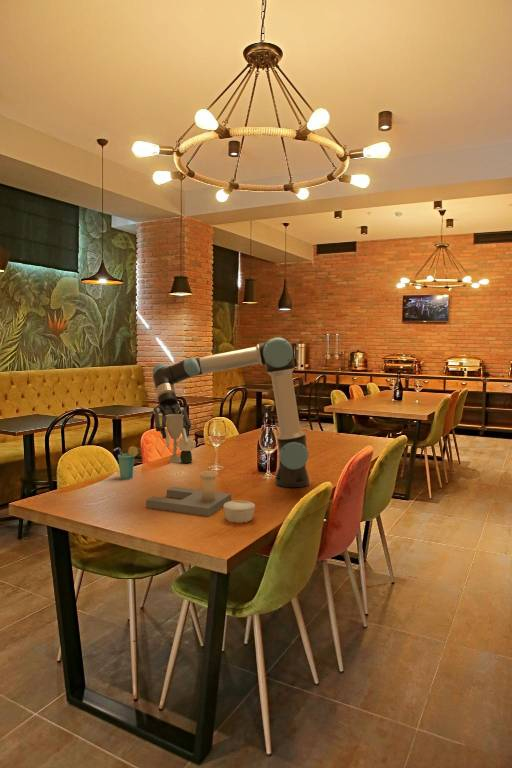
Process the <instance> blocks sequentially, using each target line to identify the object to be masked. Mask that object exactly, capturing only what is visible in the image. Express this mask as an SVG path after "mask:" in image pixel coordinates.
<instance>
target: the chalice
mask: <svg viewBox="0 0 512 768" xmlns="http://www.w3.org/2000/svg"><path fill="white" fill-rule="evenodd" d="M165 416H166V418H167V420H166V429H167V431H168V435H169V438H170V439H172V440H173V443H172V445H173V448H172V451H173V454H171V455H170V456H169V459H168V461H167V462H168V463H171V464H177V463H178V464H179V463H182V462H181V460H180V456H179V455H178V454H177V450H178V448H177V446H176V445H177V443H176V441H177V440H179V437H181V435H182V429H183V421H184V418H183V417H184V415H182V413H179V414H169V415H165Z"/></svg>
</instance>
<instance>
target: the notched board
mask: <svg viewBox="0 0 512 768" xmlns="http://www.w3.org/2000/svg"><path fill="white" fill-rule="evenodd" d="M198 476H199V478H201V489H196V488H195V489H194V488H186V487H179V486H171V487H169V488H168V489H166V497H161V496H151V497H149V498H147V499H145V501H146V502H145V503H146V504H145V508H146V507H147V509H152V508H155V509H154V510H159V509H161V511H166V510H169V511H168V512H173V511H175V513H180V512H183V513H182V514H187V513H190V514H189V515H194V514H196V515H197V516H202V515H204V517H210V516H212V515H213V514H215V513H216V512H217V510H218V509H219V510H221V509H222V508H224V507H223V506H224V504H225V503H226V502H229V501H232V493H227V492H220V491H216V478H218V476H219V472H218V471H215V470H203V471H200V472H199V474H198ZM170 497H171V498H170ZM177 498H178V499H177ZM221 507H222V508H221ZM220 508H221V509H220ZM219 510H218V511H219ZM215 511H216V512H215ZM214 512H215V513H214ZM212 513H213V514H212ZM211 514H212V515H211Z"/></svg>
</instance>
